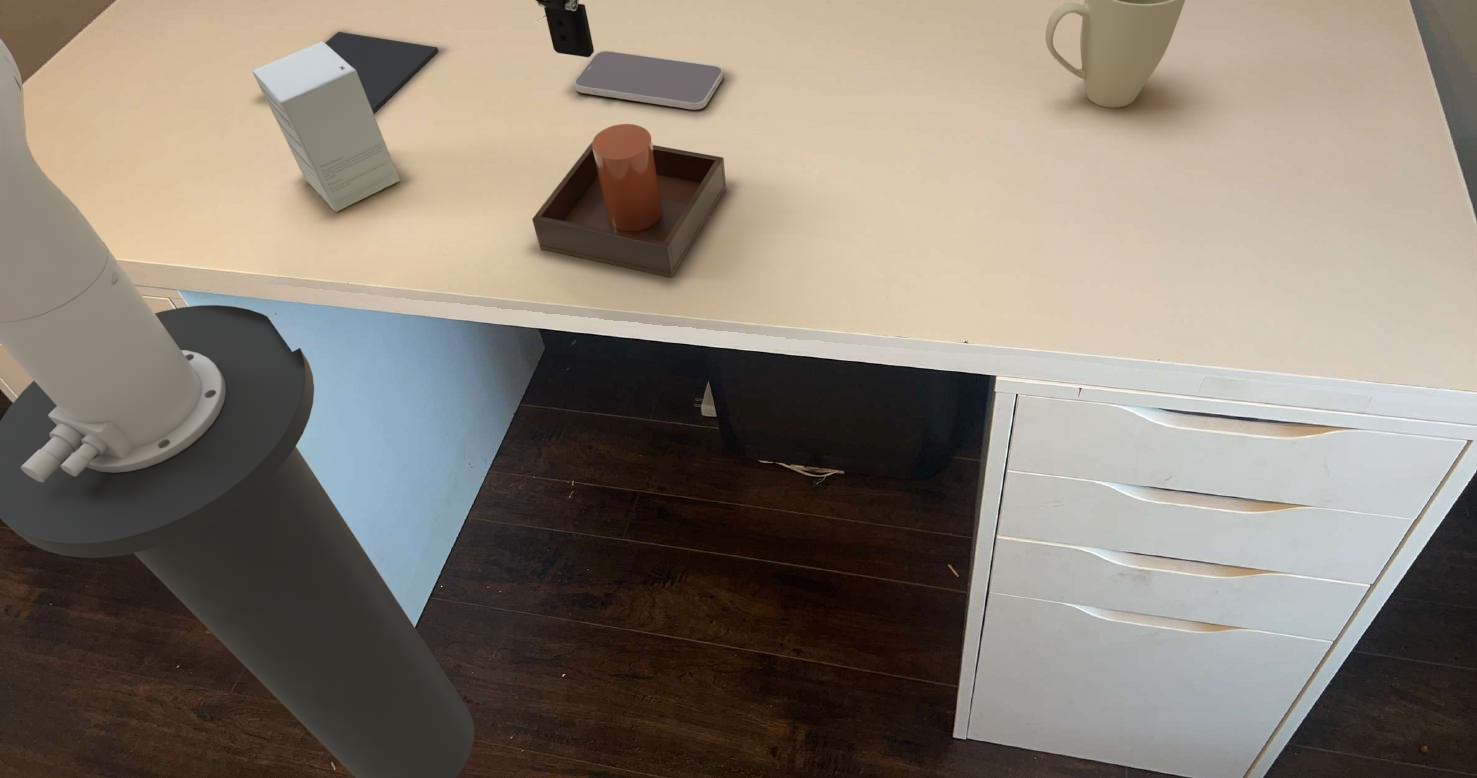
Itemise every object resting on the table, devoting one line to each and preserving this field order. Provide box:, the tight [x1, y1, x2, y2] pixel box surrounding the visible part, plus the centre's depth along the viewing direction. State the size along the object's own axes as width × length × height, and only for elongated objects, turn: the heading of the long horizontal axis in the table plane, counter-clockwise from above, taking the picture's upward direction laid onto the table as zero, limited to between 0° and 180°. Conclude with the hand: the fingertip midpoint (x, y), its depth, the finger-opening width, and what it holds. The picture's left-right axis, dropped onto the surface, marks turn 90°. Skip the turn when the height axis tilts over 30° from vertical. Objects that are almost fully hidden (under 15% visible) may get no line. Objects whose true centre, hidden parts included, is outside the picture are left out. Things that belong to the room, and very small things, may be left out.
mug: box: [1045, 0, 1186, 109], centre depth 96 cm, size 11×10×12 cm
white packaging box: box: [251, 41, 401, 213], centre depth 95 cm, size 7×7×13 cm
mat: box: [324, 31, 439, 115], centre depth 113 cm, size 14×14×1 cm
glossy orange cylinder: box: [591, 123, 662, 231], centre depth 89 cm, size 5×5×8 cm
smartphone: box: [574, 50, 724, 111], centre depth 107 cm, size 7×1×15 cm
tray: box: [531, 140, 727, 278], centre depth 92 cm, size 13×13×4 cm
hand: (602, 20), depth 78 cm, fingers open, 9 cm apart
